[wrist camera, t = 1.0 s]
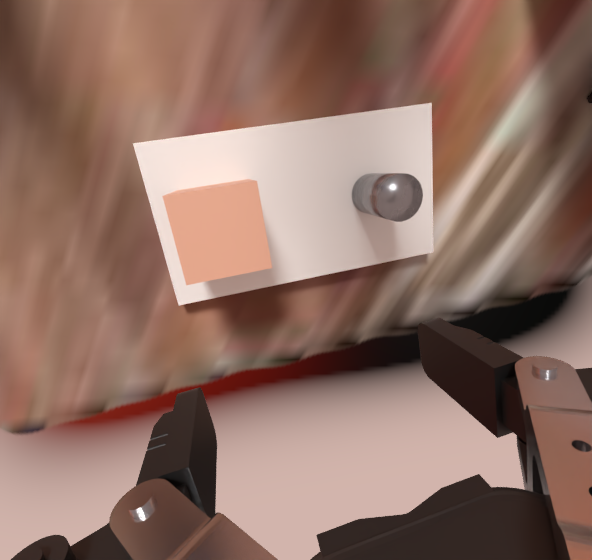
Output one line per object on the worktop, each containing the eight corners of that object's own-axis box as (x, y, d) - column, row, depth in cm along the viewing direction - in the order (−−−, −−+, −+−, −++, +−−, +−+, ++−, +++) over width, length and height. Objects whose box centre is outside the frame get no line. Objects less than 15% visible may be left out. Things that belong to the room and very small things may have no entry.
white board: (180, 299, 30) (178, 305, 29) (137, 145, 26) (133, 143, 25) (424, 248, 34) (433, 252, 33) (421, 106, 30) (431, 102, 28)
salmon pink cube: (194, 259, 28) (186, 285, 22) (176, 190, 26) (162, 196, 20) (260, 246, 29) (272, 268, 22) (248, 178, 27) (257, 180, 21)
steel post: (353, 216, 30) (380, 225, 25) (349, 176, 29) (377, 177, 24) (389, 209, 30) (423, 217, 25) (387, 170, 29) (422, 169, 24)
